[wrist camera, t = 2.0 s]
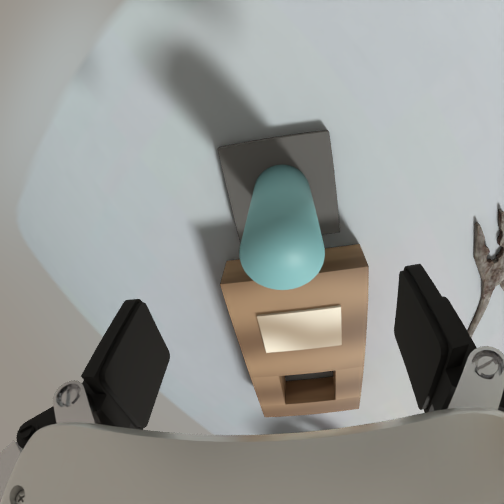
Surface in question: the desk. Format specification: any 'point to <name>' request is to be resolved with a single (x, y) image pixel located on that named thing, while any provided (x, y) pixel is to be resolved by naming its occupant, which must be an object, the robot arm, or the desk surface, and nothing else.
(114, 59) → the desk surface
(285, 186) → the peg
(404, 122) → the desk surface
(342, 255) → the wooden peg hole block
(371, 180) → the desk surface
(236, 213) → the pad
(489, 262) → the pliers
